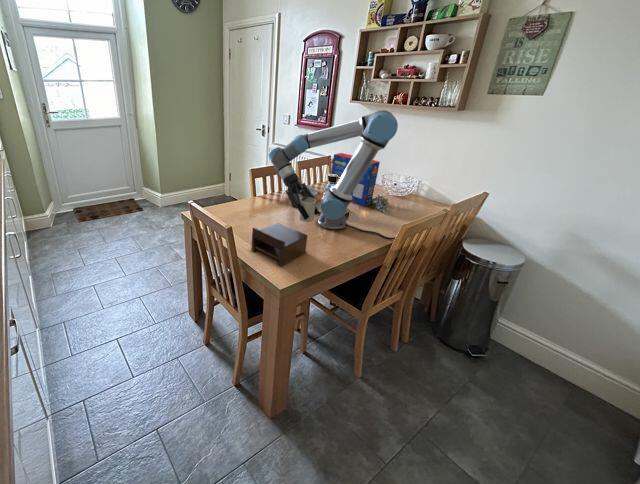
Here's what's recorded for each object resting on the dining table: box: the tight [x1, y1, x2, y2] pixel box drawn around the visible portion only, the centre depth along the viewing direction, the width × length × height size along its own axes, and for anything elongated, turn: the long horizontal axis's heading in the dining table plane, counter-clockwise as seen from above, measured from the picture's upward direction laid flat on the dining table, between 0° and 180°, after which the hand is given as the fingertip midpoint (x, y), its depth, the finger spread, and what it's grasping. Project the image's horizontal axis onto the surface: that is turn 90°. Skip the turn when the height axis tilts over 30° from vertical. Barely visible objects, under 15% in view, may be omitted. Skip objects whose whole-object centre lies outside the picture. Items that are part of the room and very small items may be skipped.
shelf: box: [251, 222, 308, 267], centre depth 151 cm, size 18×18×12 cm
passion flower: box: [370, 193, 390, 213], centre depth 201 cm, size 11×11×12 cm
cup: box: [297, 197, 317, 223], centre depth 160 cm, size 8×8×10 cm
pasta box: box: [330, 152, 381, 208], centre depth 213 cm, size 28×8×28 cm, turn 39°
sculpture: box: [280, 186, 322, 202], centre depth 213 cm, size 25×19×10 cm
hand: (312, 216), depth 159 cm, fingers closed on cup, 8 cm apart
